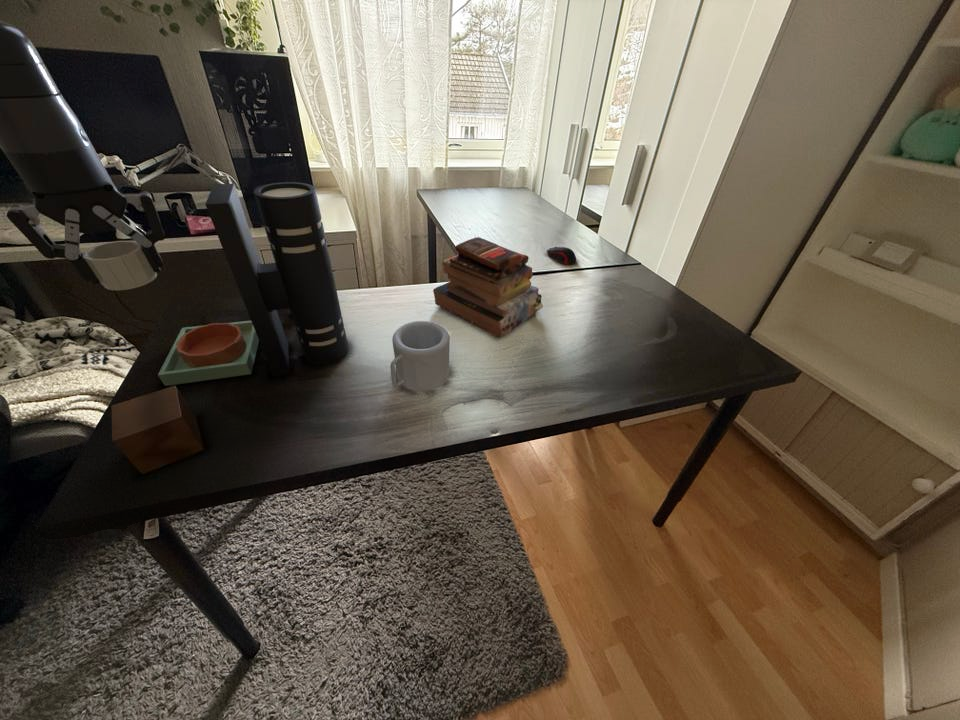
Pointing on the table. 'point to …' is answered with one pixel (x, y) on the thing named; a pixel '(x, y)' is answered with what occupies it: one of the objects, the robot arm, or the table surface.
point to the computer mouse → (562, 255)
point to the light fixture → (283, 270)
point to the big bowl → (211, 345)
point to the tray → (182, 373)
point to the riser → (155, 429)
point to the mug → (420, 356)
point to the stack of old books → (488, 287)
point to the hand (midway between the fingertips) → (128, 275)
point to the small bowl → (120, 265)
